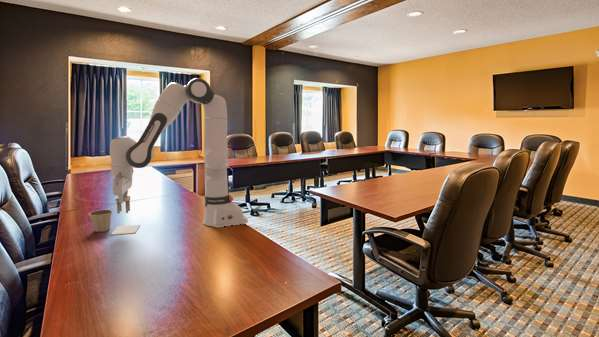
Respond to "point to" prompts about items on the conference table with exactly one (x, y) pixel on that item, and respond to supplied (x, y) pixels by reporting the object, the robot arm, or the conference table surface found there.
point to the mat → (125, 229)
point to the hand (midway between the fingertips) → (123, 200)
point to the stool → (127, 203)
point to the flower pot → (101, 220)
